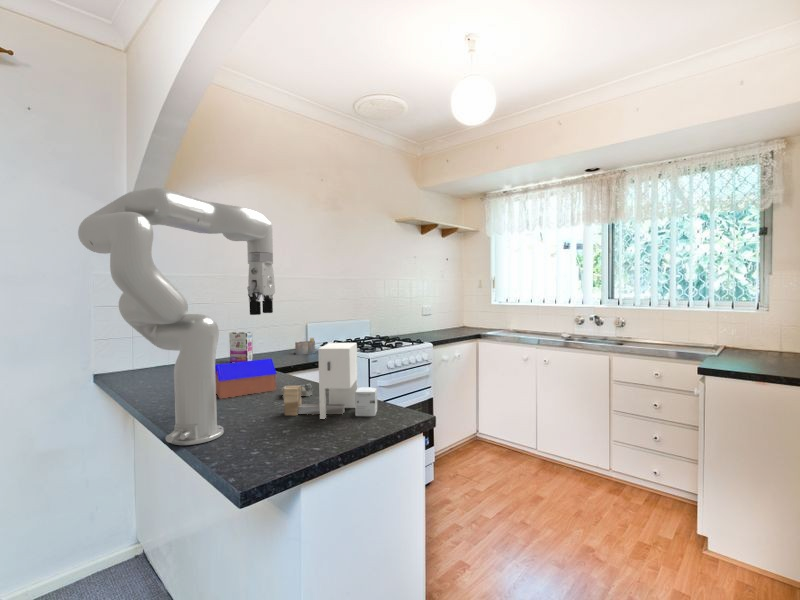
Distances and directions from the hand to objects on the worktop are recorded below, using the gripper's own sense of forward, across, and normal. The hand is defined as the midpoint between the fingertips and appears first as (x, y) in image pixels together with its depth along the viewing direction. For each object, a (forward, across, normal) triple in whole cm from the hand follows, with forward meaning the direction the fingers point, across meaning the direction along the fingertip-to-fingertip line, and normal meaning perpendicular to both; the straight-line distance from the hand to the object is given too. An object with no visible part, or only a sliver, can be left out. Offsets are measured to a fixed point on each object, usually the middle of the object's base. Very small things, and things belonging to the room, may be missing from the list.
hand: (261, 313), depth 126 cm
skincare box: (+31, -4, -33) cm, 45 cm away
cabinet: (+30, -4, -25) cm, 39 cm away
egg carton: (+31, +17, -5) cm, 36 cm away
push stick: (+30, -4, -17) cm, 35 cm away
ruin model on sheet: (+31, +115, +21) cm, 121 cm away
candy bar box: (+31, +86, +47) cm, 103 cm away
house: (+31, +22, +16) cm, 41 cm away
